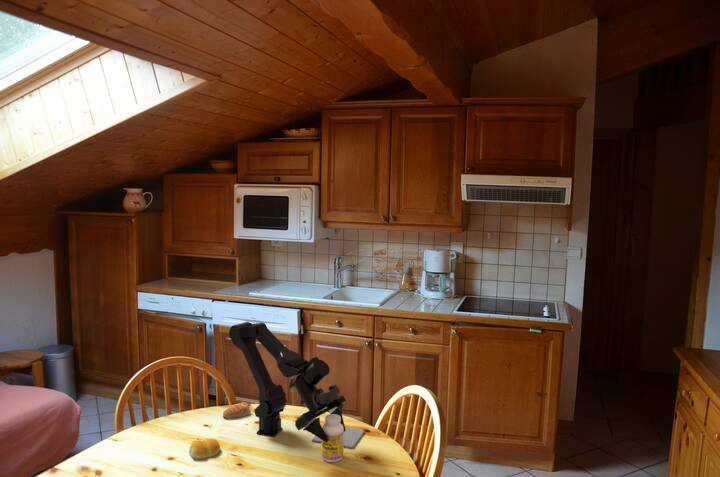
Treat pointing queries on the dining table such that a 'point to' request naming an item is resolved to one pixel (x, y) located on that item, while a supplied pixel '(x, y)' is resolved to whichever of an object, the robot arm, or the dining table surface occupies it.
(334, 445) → the supplement bottle
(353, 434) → the rubber mat
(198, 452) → the bread roll
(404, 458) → the dining table surface
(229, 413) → the pastry
